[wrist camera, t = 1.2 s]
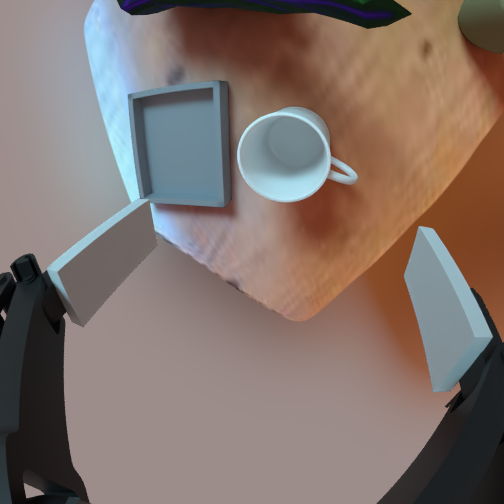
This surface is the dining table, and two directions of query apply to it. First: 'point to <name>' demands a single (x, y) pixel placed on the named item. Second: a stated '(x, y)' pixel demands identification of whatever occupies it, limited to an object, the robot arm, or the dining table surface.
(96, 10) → the dining table surface
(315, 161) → the mug
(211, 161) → the slate tray
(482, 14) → the squeeze bottle
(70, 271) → the robot arm
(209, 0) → the decorative plant
